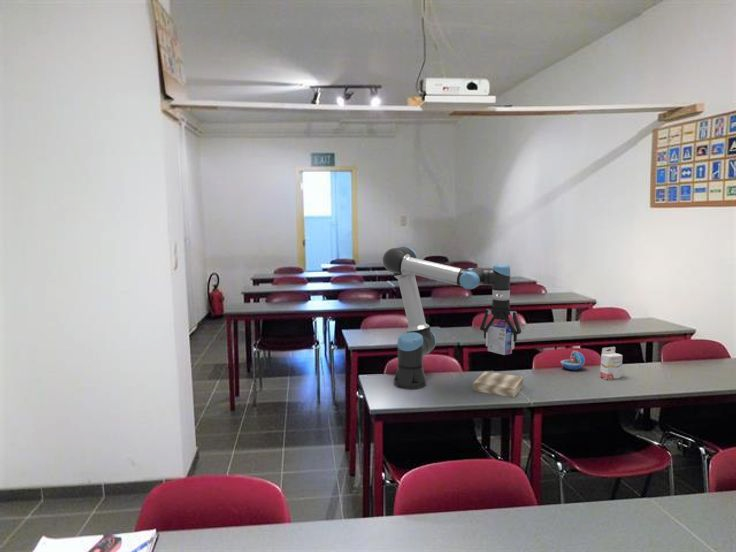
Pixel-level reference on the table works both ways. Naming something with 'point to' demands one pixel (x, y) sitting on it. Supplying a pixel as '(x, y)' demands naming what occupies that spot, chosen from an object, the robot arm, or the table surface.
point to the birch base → (498, 384)
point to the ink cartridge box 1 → (500, 338)
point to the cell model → (574, 361)
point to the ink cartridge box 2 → (610, 363)
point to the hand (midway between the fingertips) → (499, 347)
